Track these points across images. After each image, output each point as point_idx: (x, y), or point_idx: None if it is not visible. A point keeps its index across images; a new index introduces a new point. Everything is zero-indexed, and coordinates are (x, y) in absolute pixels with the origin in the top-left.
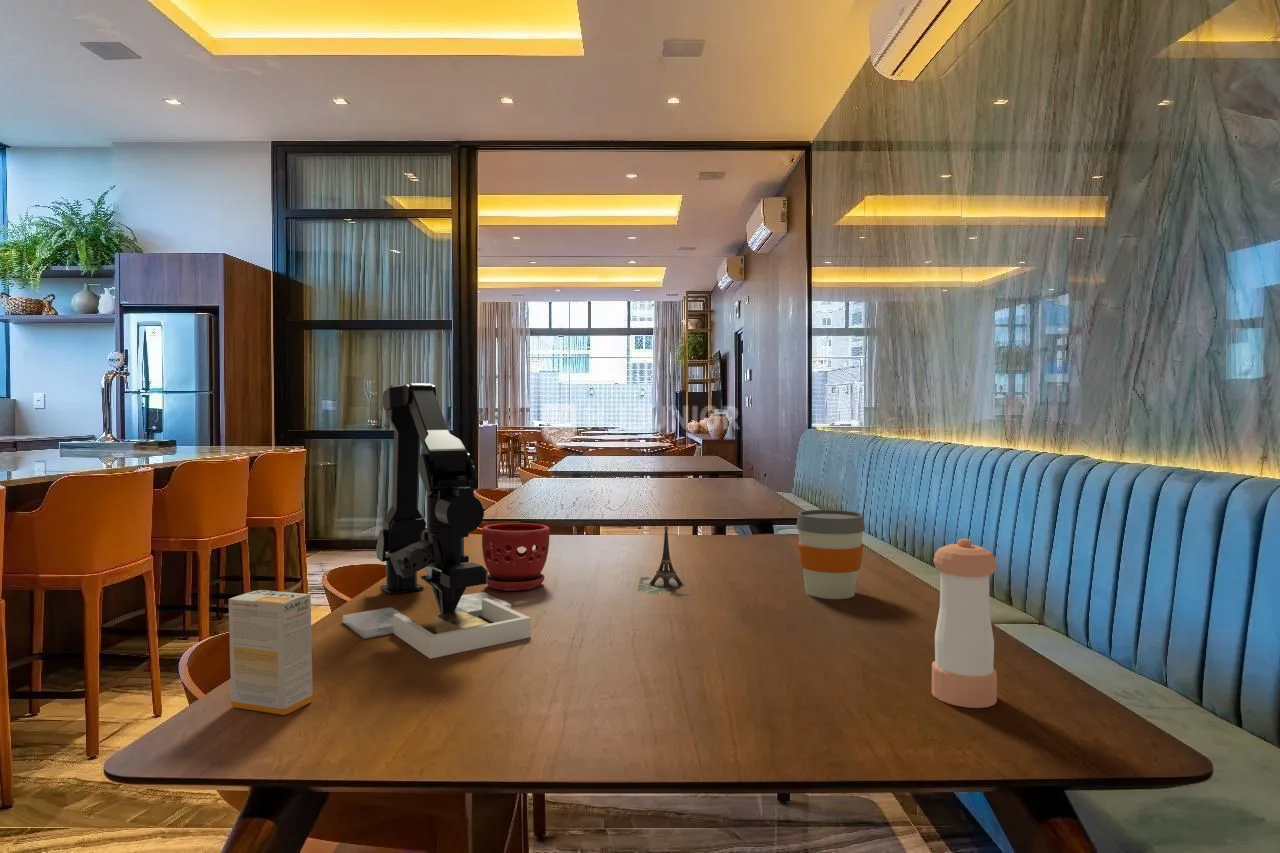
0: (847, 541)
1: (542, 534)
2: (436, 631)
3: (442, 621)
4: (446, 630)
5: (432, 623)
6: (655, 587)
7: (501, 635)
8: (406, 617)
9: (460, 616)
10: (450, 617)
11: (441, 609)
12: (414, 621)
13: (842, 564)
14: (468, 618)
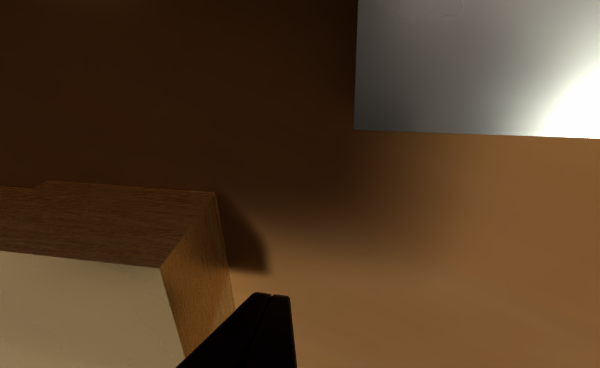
0: None
1: None
2: (200, 193)
3: (34, 242)
4: (12, 207)
5: (417, 256)
6: None
7: None
8: (585, 121)
9: (61, 352)
10: (56, 308)
11: (224, 357)
12: (361, 126)
13: None
14: (4, 355)
